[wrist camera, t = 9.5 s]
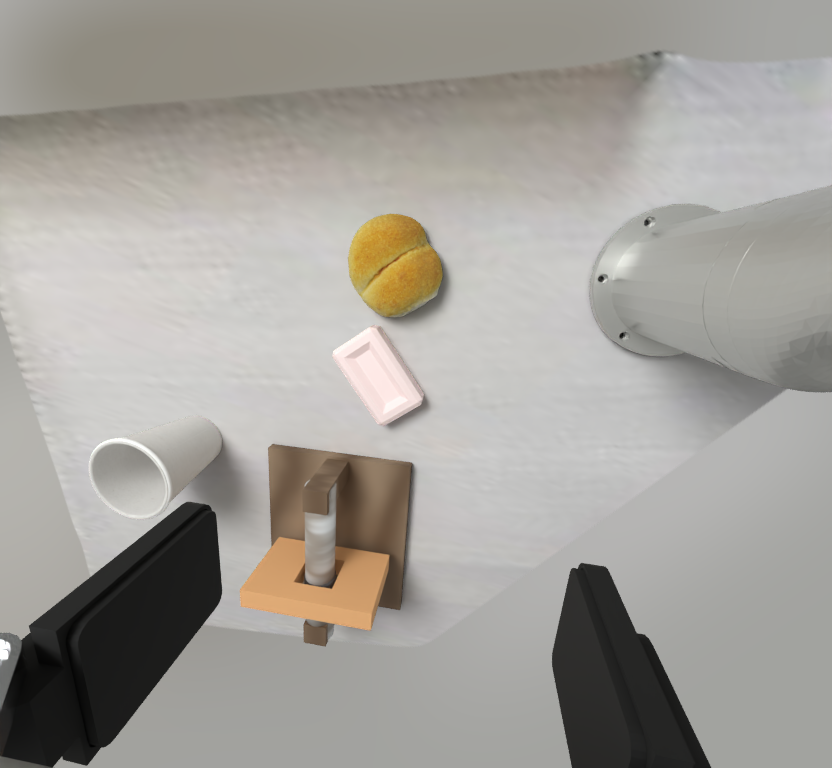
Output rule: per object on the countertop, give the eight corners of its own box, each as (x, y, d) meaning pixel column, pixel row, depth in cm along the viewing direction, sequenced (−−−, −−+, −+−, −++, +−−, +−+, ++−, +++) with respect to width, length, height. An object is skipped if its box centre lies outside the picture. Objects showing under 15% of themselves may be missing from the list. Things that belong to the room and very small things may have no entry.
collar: (389, 554, 44) (371, 613, 37) (388, 569, 45) (370, 630, 37) (279, 536, 46) (239, 589, 38) (279, 551, 46) (240, 606, 39)
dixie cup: (247, 446, 45) (186, 492, 36) (202, 483, 48) (133, 535, 38) (197, 389, 44) (120, 422, 35) (153, 430, 47) (70, 470, 37)
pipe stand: (412, 462, 43) (399, 501, 36) (401, 603, 48) (388, 661, 41) (272, 444, 45) (233, 477, 38) (277, 581, 50) (243, 633, 43)
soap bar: (384, 420, 42) (379, 429, 40) (336, 349, 41) (328, 353, 39) (426, 396, 41) (424, 403, 39) (378, 321, 40) (372, 324, 37)
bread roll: (406, 199, 36) (398, 190, 32) (455, 285, 38) (453, 286, 34) (334, 249, 38) (319, 246, 34) (383, 329, 40) (374, 335, 36)
